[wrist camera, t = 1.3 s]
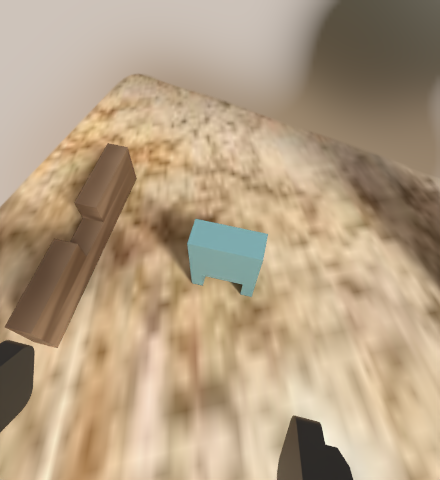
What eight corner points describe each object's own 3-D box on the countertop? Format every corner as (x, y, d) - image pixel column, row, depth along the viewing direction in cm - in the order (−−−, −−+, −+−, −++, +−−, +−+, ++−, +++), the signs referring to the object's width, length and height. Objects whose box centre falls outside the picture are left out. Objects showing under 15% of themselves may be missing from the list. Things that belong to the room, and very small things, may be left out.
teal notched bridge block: (255, 274, 34) (267, 234, 27) (251, 296, 32) (263, 260, 25) (198, 261, 34) (195, 218, 27) (191, 283, 33) (187, 243, 26)
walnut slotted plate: (136, 178, 39) (127, 147, 35) (57, 347, 29) (31, 333, 25) (118, 175, 39) (107, 143, 35) (34, 342, 30) (4, 326, 25)
